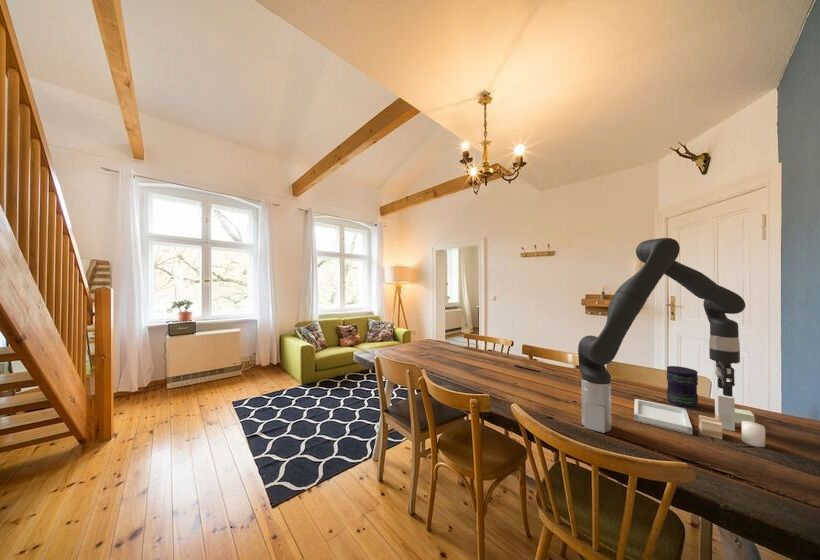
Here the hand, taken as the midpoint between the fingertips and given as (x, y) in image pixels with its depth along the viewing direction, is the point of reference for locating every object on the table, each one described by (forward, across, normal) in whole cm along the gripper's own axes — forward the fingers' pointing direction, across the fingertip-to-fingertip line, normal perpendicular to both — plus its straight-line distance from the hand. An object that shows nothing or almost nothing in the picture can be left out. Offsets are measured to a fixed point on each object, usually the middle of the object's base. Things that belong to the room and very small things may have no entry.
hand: (724, 391), depth 104 cm
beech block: (+13, -10, +5) cm, 17 cm away
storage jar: (+13, +16, +10) cm, 23 cm away
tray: (+13, -6, +18) cm, 23 cm away
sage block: (+13, +9, -6) cm, 17 cm away
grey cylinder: (+13, -9, -5) cm, 16 cm away
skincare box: (+13, 0, 0) cm, 13 cm away
